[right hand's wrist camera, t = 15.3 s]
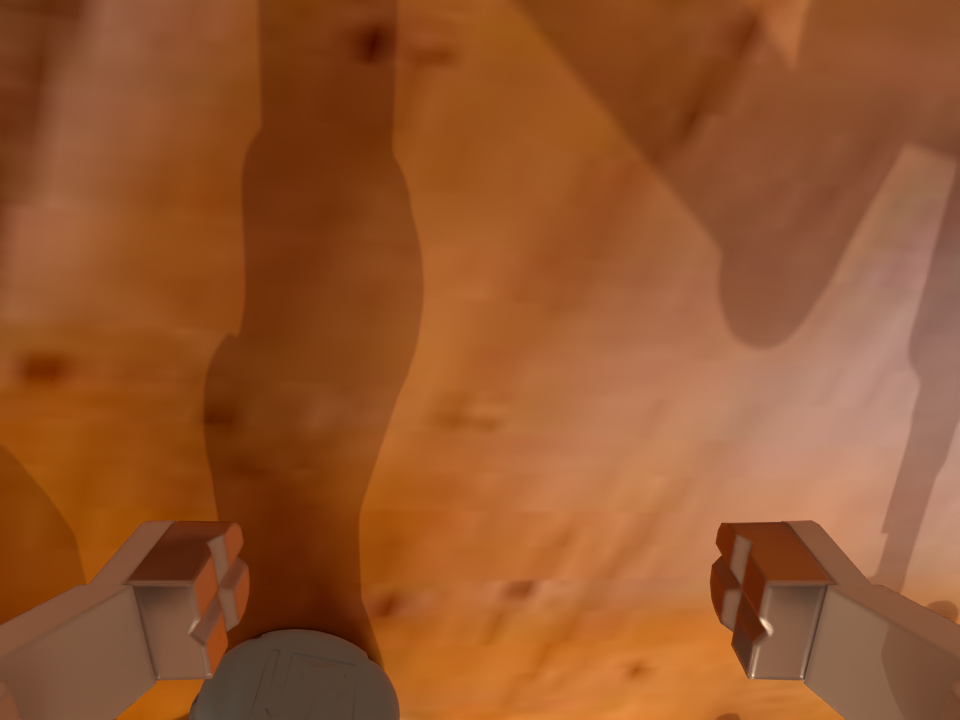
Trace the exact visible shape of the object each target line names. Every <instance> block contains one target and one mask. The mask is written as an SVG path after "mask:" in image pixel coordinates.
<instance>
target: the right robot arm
mask: <svg viewBox="0 0 960 720" xmlns="http://www.w3.org/2000/svg"><path fill="white" fill-rule="evenodd" d="M243 545H244V539H243V534H242V529H241V526H240V525H239V524H237V523H236V522H207V521H178V522H177V521H148V522H145V523H142V524H141V525H140V526H139V527H138V528H137V529H136V530H135V532H134V533H133V534H132V535H131V536H130V537H129V538H128V540H127V541H126V542H125V543H124V544H123V545H122V547H121V548H120V549H119V550H118V551H117V552H116V553H115V555H114V556H113V557H112V558H111V559H110V560H109V561H108V563H107V564H106V565H105V566H104V567H103V568H102V569H101V571H100V572H99V573H98V574H97V575H96V576H95V577H94V579H93V580H92V581H91V582H90V583H89V584H88V585H77V586H75V587H73V588H71V589H69V590H67V591H66V592H64V593H62V594H60V595H58V596H56V597H54V598H52V599H50V600H48V601H46V602H44V603H42V604H40V605H38V606H36V607H34V608H32V609H31V610H29V611H27V612H25V613H23V614H21V615H19V616H17V617H15V618H13V619H11V620H9V621H7V622H5V623H3V624H1V625H0V720H114V719H115V718H116V717H118V716H119V715H120V714H121V713H122V712H123V711H125V710H126V709H127V708H128V707H129V706H130V705H132V704H133V703H134V702H135V701H136V700H138V699H139V698H140V697H141V696H142V695H143V694H145V693H146V692H147V691H148V690H149V689H150V688H152V687H153V686H154V685H155V684H156V680H187V679H212V677H213V675H214V673H215V671H216V669H217V667H218V665H219V663H220V661H221V659H222V657H223V655H224V653H225V651H226V649H227V647H228V645H229V643H228V638H227V632H228V631H229V630H230V629H232V628H233V627H235V626H236V625H237V624H239V623H240V620H241V618H242V616H243V614H244V612H245V610H246V605H247V601H248V596H249V592H250V575H249V569H248V565H247V564H246V563H245V562H244V561H243V560H242V559H241V558H240V557H239V556H238V554H239V552H240V550H241V548H242V547H243ZM716 545H717V547H718V548H719V550H720V552H721V554H722V556H721V557H720V558H719V559H718V560H717V561H716V562H715V563H714V564H713V565H712V569H711V577H710V588H711V599H712V602H713V606H714V609H715V612H716V614H717V616H718V618H719V620H720V623H721V624H723V625H724V626H725V627H727V628H728V629H730V630H731V631H732V632H733V638H732V643H731V645H732V647H733V649H734V651H735V653H736V655H737V657H738V659H739V661H740V663H741V665H742V667H743V669H744V671H745V673H746V675H747V677H748V679H772V680H804V684H805V685H806V686H808V687H809V688H810V689H811V690H812V691H813V692H815V693H816V694H817V695H818V696H819V697H820V698H822V699H823V700H824V701H825V702H826V703H827V704H829V705H830V706H831V707H832V708H833V709H834V710H836V711H837V712H838V713H839V714H840V715H841V716H843V717H844V718H845V719H846V720H960V625H958V624H956V623H955V622H953V621H951V620H949V619H947V618H945V617H943V616H941V615H939V614H937V613H935V612H933V611H931V610H929V609H927V608H925V607H924V606H922V605H920V604H918V603H916V602H914V601H912V600H910V599H908V598H906V597H904V596H902V595H900V594H898V593H896V592H894V591H893V590H891V589H889V588H887V587H885V586H883V585H872V584H871V583H870V582H869V581H868V580H867V579H866V577H865V576H864V575H863V574H862V573H861V572H860V571H859V569H858V568H857V567H856V566H855V565H854V564H853V563H852V561H851V560H850V559H849V558H848V557H847V556H846V555H845V553H844V552H843V551H842V550H841V549H840V548H839V547H838V545H837V544H836V543H835V542H834V541H833V540H832V539H831V537H830V536H829V535H828V534H827V533H826V532H825V531H824V529H823V528H822V527H821V526H820V525H819V524H818V523H816V522H814V521H812V520H808V521H781V522H748V523H721V525H720V527H719V529H718V532H717V538H716Z"/></svg>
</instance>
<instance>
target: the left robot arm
mask: <svg viewBox="0 0 960 720" xmlns="http://www.w3.org/2000/svg"><path fill="white" fill-rule="evenodd" d="M189 720H400V713H399V703H398V699H397V695H396V692H395V690H394V687H393V685H392V683H391V681H390V679H389V678H388V676H387V674H386V673H385V672H384V670H383V669H382V668H381V666H380V665H379V664H377V663H375V662H373V661H371V660H370V659H368V656H367V653H366V652H365V651H363V650H362V649H361V648H359V647H358V646H356V645H354V644H352V643H351V642H349V641H347V640H344V639H342V638H340V637H337V636H334V635H331V634H328V633H324V632H320V631H314V630H305V629H285V630H277V631H272V632H268V633H264V634H261V635H258V636H256V637H254V638H252V639H249V640H246V641H244V642H242V643H240V644H239V645H237V646H235V647H234V648H233V649H231V650H230V651H228V652H227V653H226V654H225V655H224V656H223V657H222V659H221V661H220V663H219V665H218V667H217V669H216V671H215V673H214V675H213V677H212V679H205V681H204V683H203V685H202V687H201V690H200V692H199V693H198V695H197V696H196V698H195V700H194V701H193V703H192V706H191V709H190V713H189Z"/></svg>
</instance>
